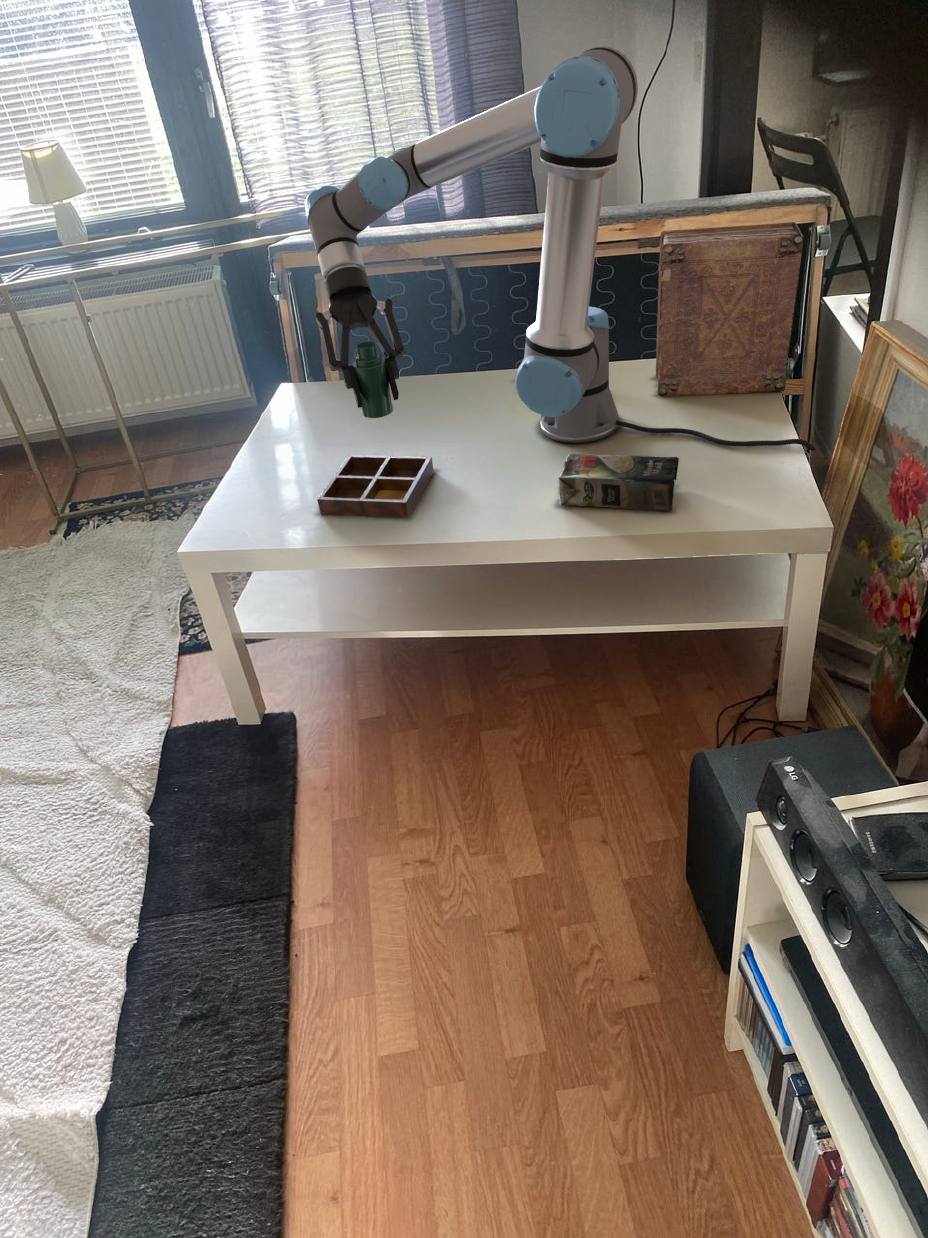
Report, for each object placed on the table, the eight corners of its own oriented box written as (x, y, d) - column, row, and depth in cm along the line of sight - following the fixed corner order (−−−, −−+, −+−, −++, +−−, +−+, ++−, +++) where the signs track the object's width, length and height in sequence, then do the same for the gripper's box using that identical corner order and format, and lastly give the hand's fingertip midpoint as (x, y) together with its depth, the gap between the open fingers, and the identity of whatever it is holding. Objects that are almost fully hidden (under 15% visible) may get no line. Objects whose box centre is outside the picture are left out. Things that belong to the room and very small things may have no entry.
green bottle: (397, 404, 160) (386, 338, 153) (387, 418, 156) (376, 351, 149) (367, 404, 162) (356, 338, 155) (357, 418, 158) (344, 351, 150)
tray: (433, 471, 170) (431, 456, 169) (408, 517, 158) (405, 502, 156) (351, 469, 175) (348, 454, 173) (320, 514, 162) (317, 499, 160)
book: (656, 396, 186) (660, 244, 168) (655, 377, 193) (659, 230, 175) (785, 391, 182) (803, 235, 164) (779, 372, 189) (796, 221, 171)
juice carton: (552, 506, 156) (551, 474, 152) (563, 479, 163) (562, 448, 159) (671, 514, 150) (673, 481, 146) (677, 485, 157) (679, 453, 154)
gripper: (396, 277, 162) (429, 397, 159) (293, 297, 159) (325, 420, 156) (397, 254, 155) (432, 380, 152) (290, 275, 152) (323, 403, 149)
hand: (378, 400), depth 154 cm, fingers closed on green bottle, 6 cm apart
